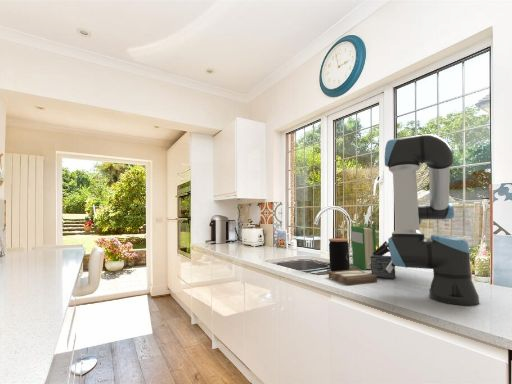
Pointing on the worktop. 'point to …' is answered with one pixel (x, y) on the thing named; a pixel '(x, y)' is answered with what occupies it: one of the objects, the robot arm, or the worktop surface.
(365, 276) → the walnut stand
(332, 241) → the coffee jar
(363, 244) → the hardback book
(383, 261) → the small box
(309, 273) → the worktop surface
